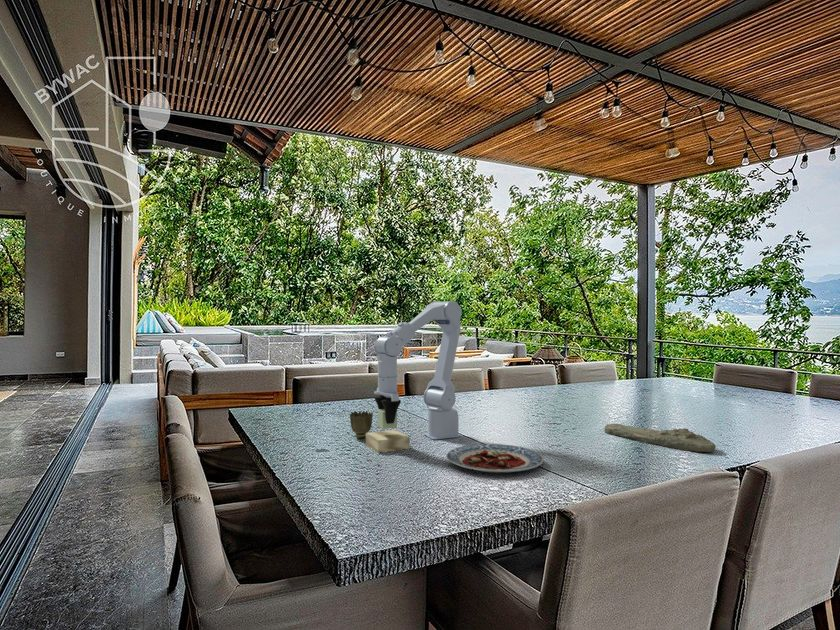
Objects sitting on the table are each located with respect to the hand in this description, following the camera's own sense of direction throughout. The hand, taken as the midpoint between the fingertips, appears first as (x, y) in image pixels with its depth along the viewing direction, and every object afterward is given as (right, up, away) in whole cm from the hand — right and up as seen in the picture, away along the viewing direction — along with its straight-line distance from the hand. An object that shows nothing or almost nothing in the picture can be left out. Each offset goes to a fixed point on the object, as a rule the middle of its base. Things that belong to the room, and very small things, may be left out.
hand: (387, 421), depth 158 cm
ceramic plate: (+30, -8, -17) cm, 35 cm away
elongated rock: (+84, -8, +7) cm, 84 cm away
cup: (-9, -8, +11) cm, 17 cm away
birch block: (0, -8, 0) cm, 8 cm away
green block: (0, -2, 0) cm, 2 cm away
